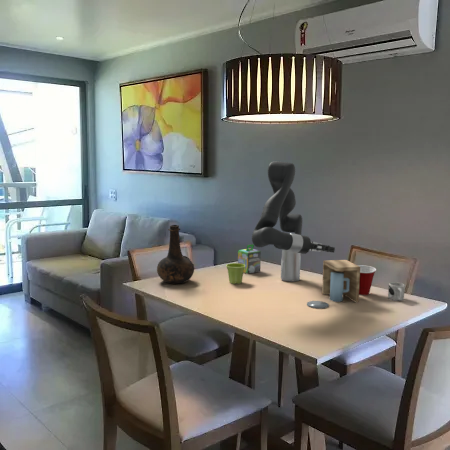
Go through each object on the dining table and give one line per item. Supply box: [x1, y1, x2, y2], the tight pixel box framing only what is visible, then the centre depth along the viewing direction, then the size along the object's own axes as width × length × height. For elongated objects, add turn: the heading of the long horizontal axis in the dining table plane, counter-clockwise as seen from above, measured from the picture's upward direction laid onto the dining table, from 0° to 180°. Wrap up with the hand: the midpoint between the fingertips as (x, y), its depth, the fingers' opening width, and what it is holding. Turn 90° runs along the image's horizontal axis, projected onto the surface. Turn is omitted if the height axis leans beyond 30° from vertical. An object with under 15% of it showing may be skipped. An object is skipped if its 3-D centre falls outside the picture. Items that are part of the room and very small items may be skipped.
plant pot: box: [225, 262, 245, 285], centre depth 242 cm, size 9×9×9 cm
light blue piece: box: [329, 271, 350, 303], centre depth 215 cm, size 8×6×12 cm
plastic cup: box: [358, 264, 377, 296], centre depth 225 cm, size 11×11×12 cm
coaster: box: [306, 300, 330, 310], centre depth 207 cm, size 9×9×1 cm
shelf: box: [321, 259, 360, 303], centre depth 218 cm, size 11×14×15 cm
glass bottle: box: [156, 224, 195, 285], centre depth 241 cm, size 18×18×28 cm
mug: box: [387, 281, 406, 302], centre depth 216 cm, size 10×7×7 cm
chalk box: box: [237, 243, 262, 275], centre depth 266 cm, size 9×9×15 cm
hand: (327, 249), depth 212 cm, fingers open, 8 cm apart
